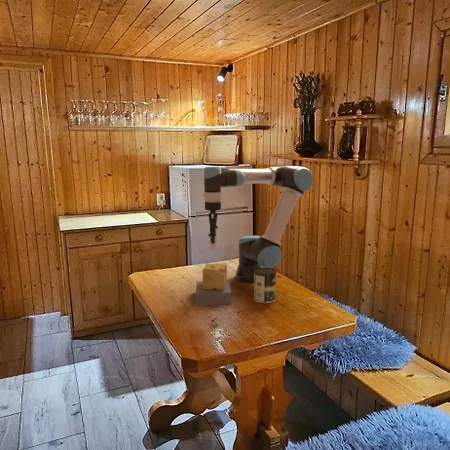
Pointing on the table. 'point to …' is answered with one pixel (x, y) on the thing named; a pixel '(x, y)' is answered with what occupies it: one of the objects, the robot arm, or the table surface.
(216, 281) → the cheese
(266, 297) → the coffee can
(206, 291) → the charcoal block
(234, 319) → the table surface
